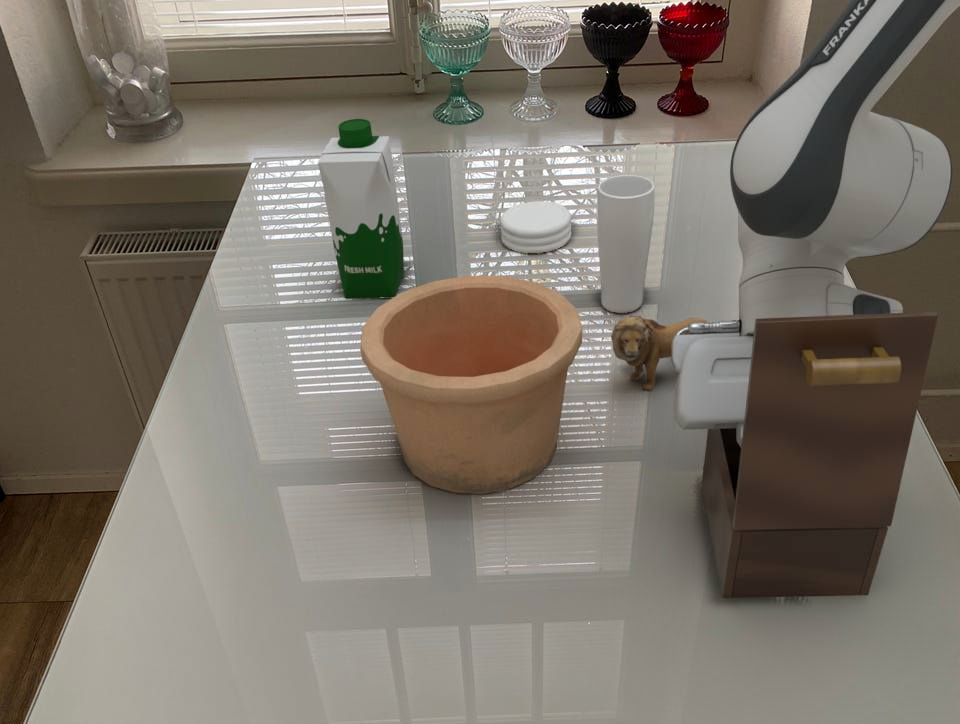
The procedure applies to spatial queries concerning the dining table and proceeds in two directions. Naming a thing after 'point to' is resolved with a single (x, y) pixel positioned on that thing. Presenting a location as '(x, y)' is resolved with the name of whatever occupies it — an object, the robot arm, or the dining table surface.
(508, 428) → the pottery
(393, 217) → the milk carton
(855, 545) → the box
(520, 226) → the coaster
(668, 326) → the lion figurine
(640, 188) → the drinking glass
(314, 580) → the dining table surface
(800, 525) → the lid
